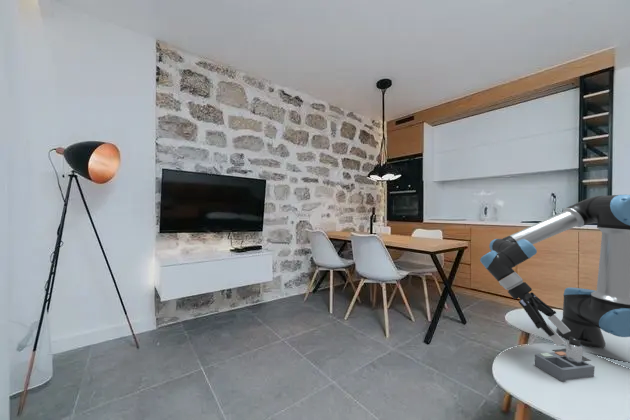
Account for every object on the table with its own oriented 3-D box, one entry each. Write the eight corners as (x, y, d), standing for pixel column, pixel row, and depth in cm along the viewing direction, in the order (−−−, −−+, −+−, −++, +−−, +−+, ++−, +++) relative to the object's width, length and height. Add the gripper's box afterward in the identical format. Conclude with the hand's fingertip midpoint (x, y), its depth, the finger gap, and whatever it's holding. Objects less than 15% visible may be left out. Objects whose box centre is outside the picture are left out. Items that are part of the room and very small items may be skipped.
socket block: (563, 361, 97) (564, 350, 97) (593, 377, 88) (594, 365, 88) (534, 364, 94) (535, 353, 94) (562, 381, 85) (563, 368, 85)
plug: (570, 367, 93) (572, 335, 93) (584, 374, 89) (586, 341, 89) (561, 368, 92) (564, 336, 92) (575, 376, 88) (577, 342, 88)
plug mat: (566, 349, 105) (567, 348, 105) (591, 361, 97) (591, 360, 97) (551, 351, 104) (551, 350, 104) (574, 363, 96) (575, 362, 96)
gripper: (515, 285, 113) (559, 332, 102) (497, 296, 98) (547, 353, 86) (531, 276, 109) (578, 324, 98) (515, 286, 93) (570, 345, 82)
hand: (564, 338), depth 92 cm, fingers open, 13 cm apart
